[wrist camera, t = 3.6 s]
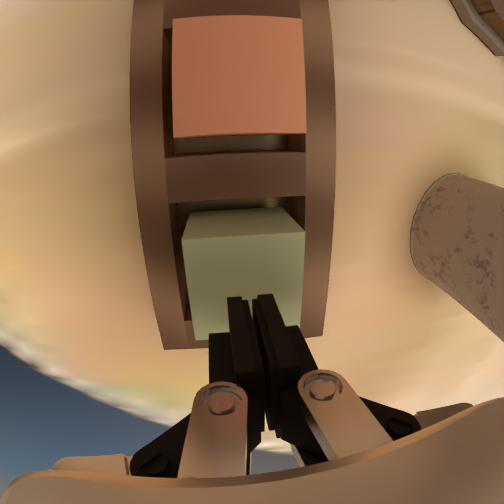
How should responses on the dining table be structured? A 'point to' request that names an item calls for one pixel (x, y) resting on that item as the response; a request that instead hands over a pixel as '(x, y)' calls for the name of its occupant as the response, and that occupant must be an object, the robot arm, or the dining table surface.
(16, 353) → the dining table surface
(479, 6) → the tankard
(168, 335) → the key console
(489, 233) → the grey stone cylinder
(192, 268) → the sage key
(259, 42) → the terracotta key
